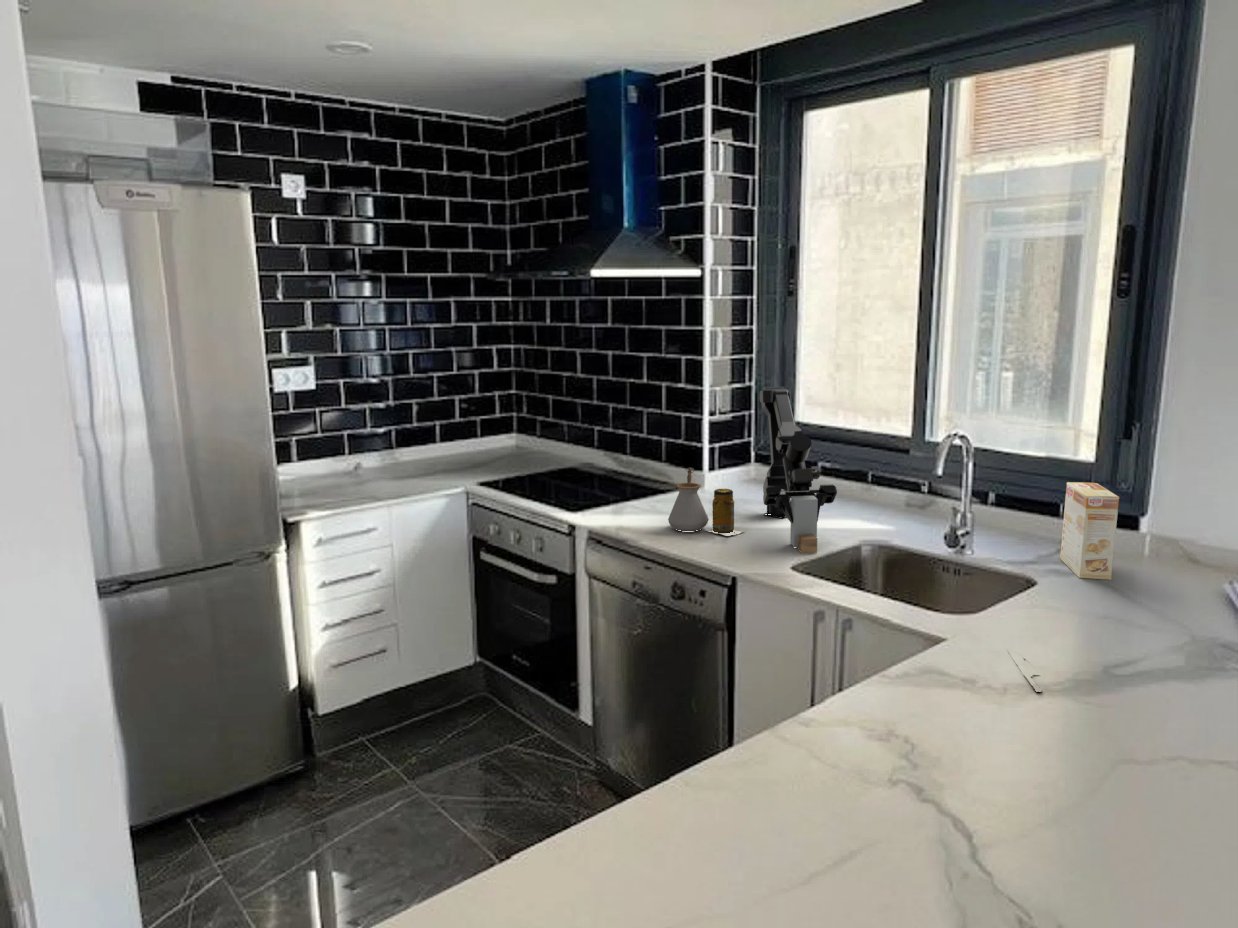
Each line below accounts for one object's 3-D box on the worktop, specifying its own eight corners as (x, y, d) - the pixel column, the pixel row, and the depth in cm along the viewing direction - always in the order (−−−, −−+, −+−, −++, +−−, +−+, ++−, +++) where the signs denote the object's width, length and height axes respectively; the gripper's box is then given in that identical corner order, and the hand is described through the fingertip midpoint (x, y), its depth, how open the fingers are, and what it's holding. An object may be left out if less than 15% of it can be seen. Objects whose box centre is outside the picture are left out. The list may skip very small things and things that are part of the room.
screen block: (790, 543, 225) (791, 496, 223) (812, 543, 225) (813, 495, 223) (793, 548, 221) (794, 499, 219) (816, 547, 222) (817, 499, 219)
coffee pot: (708, 535, 235) (708, 482, 232) (666, 534, 237) (666, 482, 234) (709, 515, 256) (709, 466, 253) (671, 514, 257) (671, 466, 255)
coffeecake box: (1112, 580, 192) (1120, 496, 189) (1078, 578, 194) (1085, 495, 190) (1090, 559, 207) (1097, 482, 203) (1058, 558, 208) (1065, 481, 204)
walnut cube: (797, 548, 221) (797, 534, 220) (812, 548, 221) (813, 533, 220) (801, 553, 217) (801, 538, 216) (816, 553, 217) (817, 538, 216)
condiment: (723, 527, 243) (723, 486, 241) (745, 532, 237) (745, 491, 234) (705, 532, 238) (705, 490, 236) (727, 538, 232) (727, 495, 230)
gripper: (765, 456, 223) (773, 507, 214) (836, 454, 223) (847, 505, 215) (759, 479, 232) (767, 529, 224) (827, 477, 233) (837, 527, 224)
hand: (804, 522), depth 221 cm, fingers closed on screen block, 6 cm apart
